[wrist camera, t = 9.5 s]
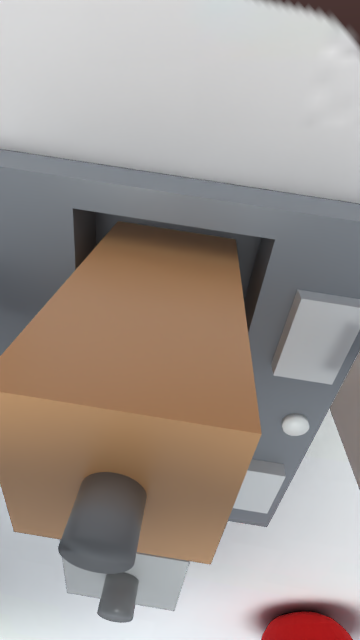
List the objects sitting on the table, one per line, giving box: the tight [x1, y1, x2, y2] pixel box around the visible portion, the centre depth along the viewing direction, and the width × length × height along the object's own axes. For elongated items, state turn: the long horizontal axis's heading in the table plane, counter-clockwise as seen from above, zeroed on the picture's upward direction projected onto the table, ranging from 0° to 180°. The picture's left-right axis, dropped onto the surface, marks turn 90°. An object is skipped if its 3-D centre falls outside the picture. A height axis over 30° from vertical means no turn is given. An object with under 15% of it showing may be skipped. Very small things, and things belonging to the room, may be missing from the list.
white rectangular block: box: [60, 539, 190, 622], centre depth 17 cm, size 5×5×9 cm
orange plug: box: [0, 221, 262, 574], centre depth 11 cm, size 5×5×11 cm
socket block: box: [0, 149, 360, 527], centre depth 17 cm, size 16×19×4 cm
